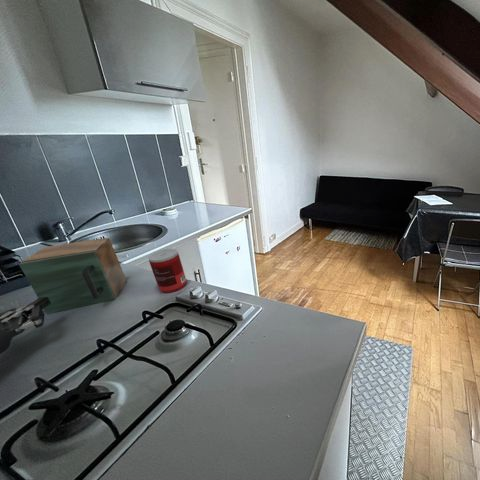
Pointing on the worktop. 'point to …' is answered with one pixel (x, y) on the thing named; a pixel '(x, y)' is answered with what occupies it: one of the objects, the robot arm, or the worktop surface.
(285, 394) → the worktop surface
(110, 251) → the cupboard
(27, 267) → the cupboard door
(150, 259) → the canned food
